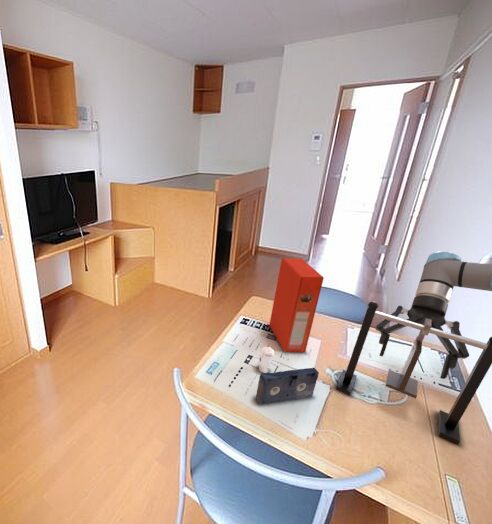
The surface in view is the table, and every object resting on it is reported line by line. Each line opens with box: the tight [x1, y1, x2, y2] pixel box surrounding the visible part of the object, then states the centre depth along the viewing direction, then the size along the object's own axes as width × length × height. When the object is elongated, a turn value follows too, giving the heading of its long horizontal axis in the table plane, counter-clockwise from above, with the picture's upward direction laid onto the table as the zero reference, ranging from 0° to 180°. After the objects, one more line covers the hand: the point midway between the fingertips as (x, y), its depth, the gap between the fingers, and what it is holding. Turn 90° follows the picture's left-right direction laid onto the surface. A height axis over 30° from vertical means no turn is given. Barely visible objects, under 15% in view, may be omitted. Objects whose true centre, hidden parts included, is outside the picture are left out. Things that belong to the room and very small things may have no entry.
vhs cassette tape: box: [255, 367, 320, 405], centre depth 94 cm, size 18×3×10 cm, turn 98°
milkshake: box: [258, 342, 275, 374], centre depth 106 cm, size 4×5×10 cm
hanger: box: [385, 318, 431, 400], centre depth 87 cm, size 7×8×22 cm
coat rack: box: [335, 301, 492, 446], centre depth 88 cm, size 29×10×32 cm, turn 48°
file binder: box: [268, 257, 325, 353], centre depth 118 cm, size 8×17×32 cm, turn 177°
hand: (410, 366), depth 86 cm, fingers open, 13 cm apart
